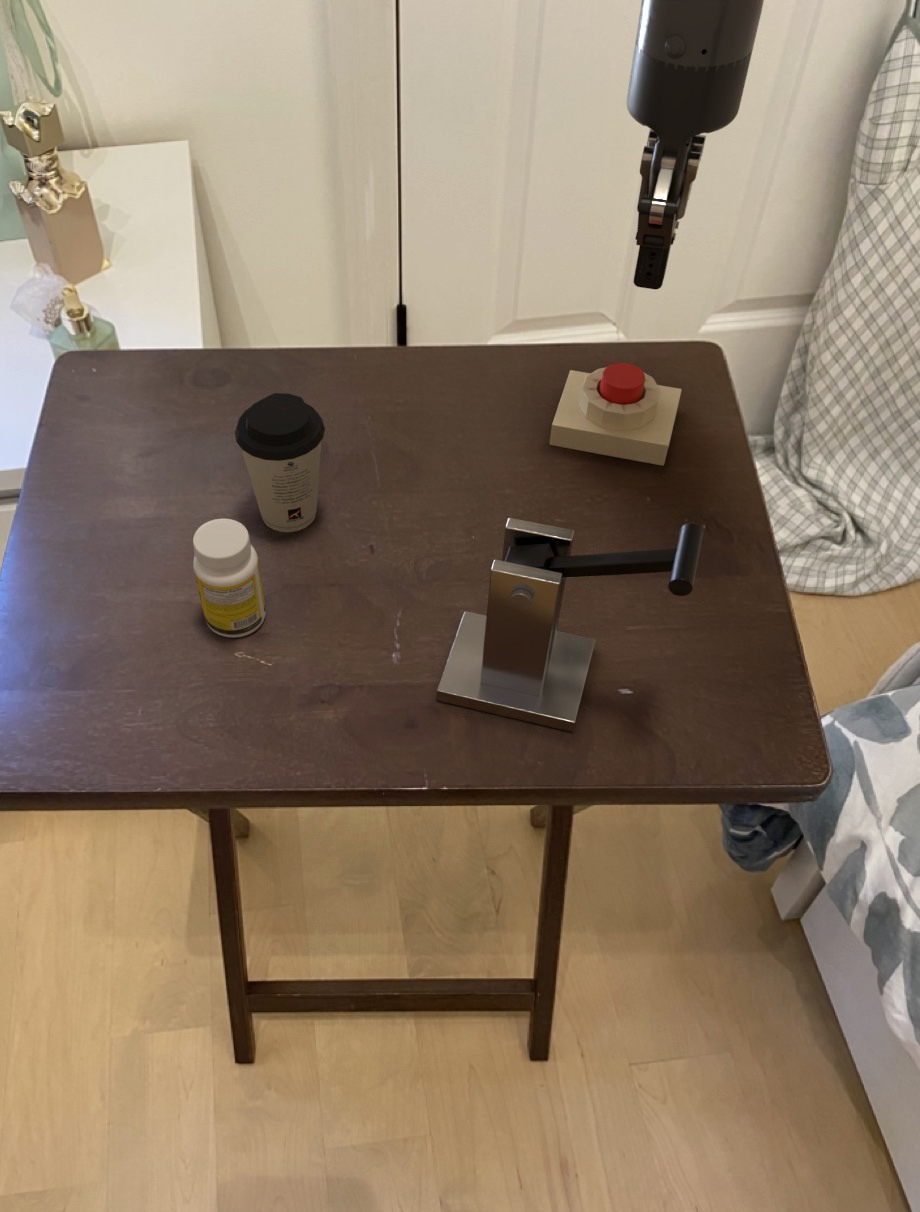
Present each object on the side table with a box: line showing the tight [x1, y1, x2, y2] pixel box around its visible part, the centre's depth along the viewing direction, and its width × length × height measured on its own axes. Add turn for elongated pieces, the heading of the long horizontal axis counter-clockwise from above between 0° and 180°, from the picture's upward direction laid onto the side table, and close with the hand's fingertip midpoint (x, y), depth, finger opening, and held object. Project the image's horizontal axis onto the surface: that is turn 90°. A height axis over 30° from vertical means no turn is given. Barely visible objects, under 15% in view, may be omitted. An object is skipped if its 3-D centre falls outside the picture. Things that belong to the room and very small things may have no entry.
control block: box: [549, 366, 683, 467], centre depth 95 cm, size 10×8×4 cm
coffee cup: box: [234, 392, 326, 533], centre depth 86 cm, size 7×7×10 cm
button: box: [600, 362, 645, 405], centre depth 93 cm, size 4×4×2 cm
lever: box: [505, 522, 704, 597], centre depth 69 cm, size 12×5×2 cm, turn 73°
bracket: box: [436, 517, 596, 733], centre depth 75 cm, size 10×8×13 cm
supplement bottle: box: [192, 518, 267, 638], centre depth 80 cm, size 5×5×8 cm
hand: (648, 282), depth 84 cm, fingers closed
